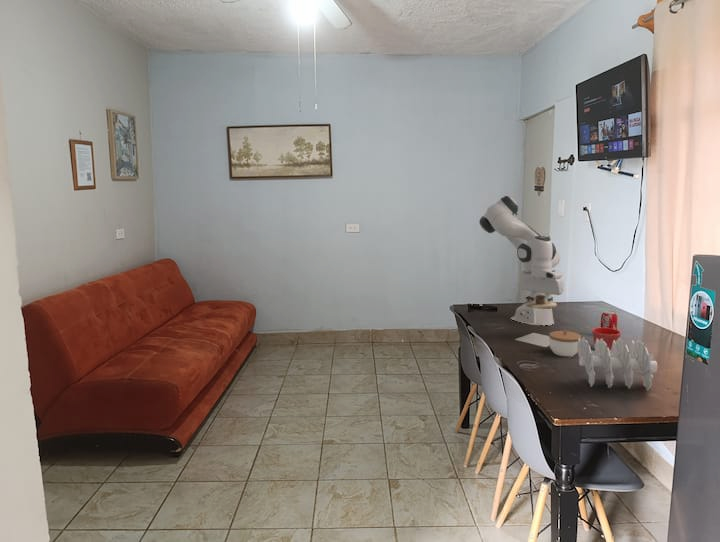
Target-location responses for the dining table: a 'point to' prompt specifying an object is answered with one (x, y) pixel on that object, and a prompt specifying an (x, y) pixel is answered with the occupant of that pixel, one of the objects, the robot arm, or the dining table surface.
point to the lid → (540, 303)
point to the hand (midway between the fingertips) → (540, 301)
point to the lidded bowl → (564, 343)
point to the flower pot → (606, 335)
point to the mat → (535, 339)
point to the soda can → (609, 320)
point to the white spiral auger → (617, 360)
